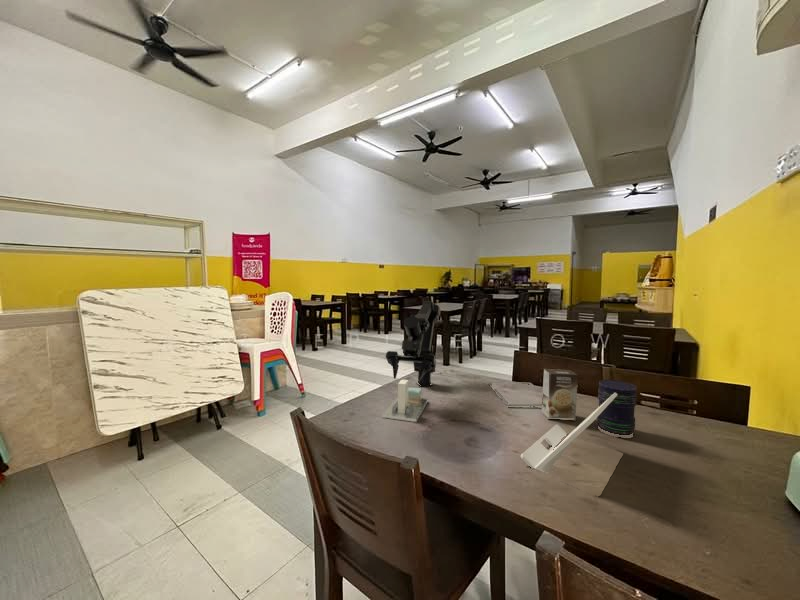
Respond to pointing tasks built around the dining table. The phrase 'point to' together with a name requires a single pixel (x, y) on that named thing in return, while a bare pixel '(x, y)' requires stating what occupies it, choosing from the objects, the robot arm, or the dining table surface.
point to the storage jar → (617, 407)
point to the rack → (411, 412)
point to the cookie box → (559, 393)
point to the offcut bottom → (414, 399)
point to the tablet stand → (546, 458)
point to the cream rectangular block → (402, 396)
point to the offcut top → (414, 392)
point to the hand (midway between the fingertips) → (406, 379)
